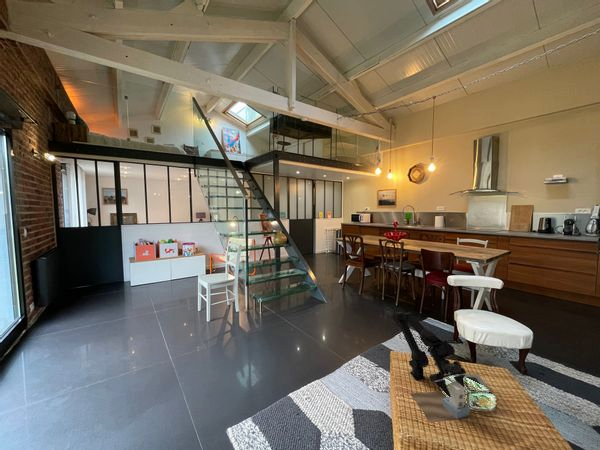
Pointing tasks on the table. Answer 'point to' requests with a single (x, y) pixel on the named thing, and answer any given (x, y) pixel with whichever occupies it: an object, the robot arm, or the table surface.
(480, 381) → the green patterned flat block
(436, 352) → the robot arm
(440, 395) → the walnut board
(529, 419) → the table surface
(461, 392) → the tower
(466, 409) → the socket cup
